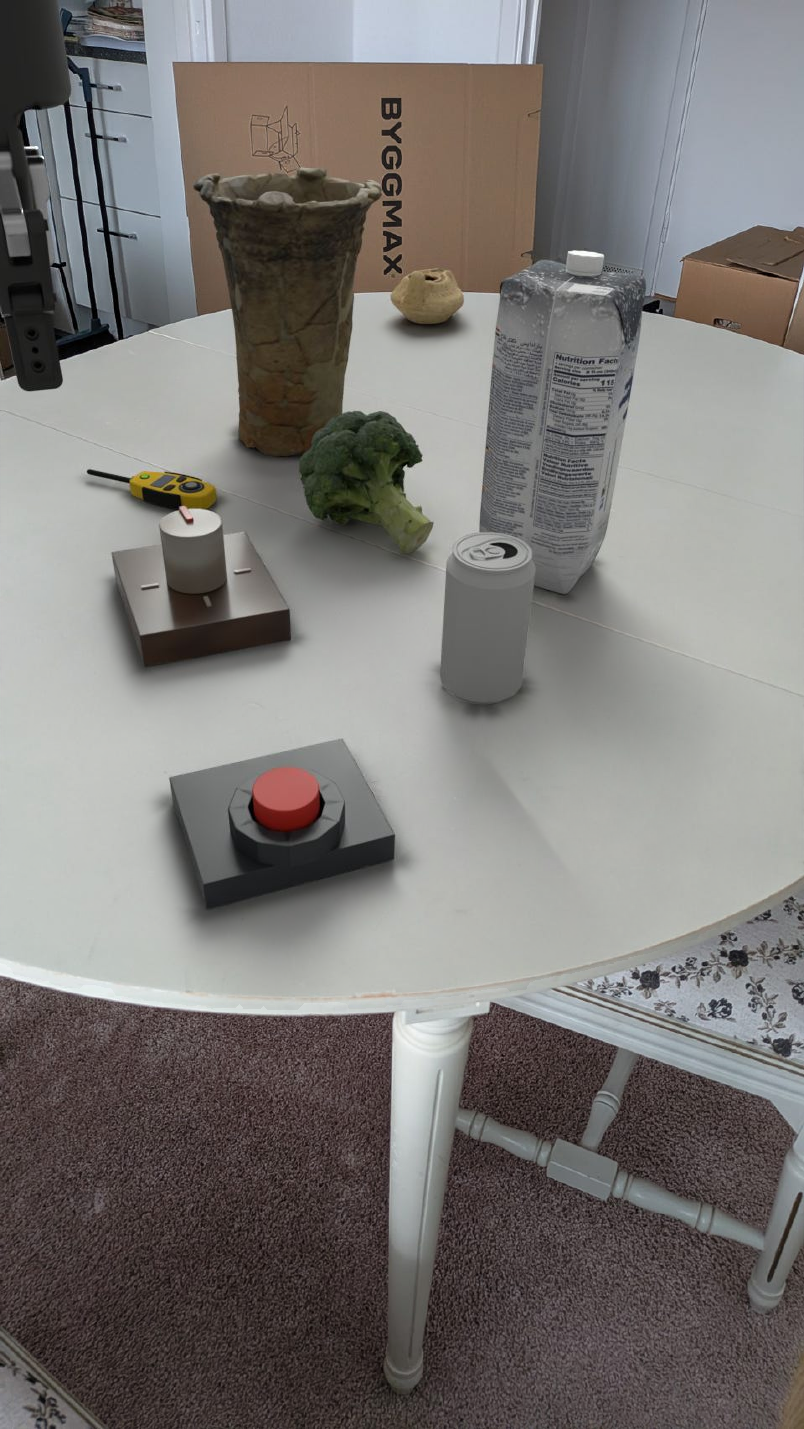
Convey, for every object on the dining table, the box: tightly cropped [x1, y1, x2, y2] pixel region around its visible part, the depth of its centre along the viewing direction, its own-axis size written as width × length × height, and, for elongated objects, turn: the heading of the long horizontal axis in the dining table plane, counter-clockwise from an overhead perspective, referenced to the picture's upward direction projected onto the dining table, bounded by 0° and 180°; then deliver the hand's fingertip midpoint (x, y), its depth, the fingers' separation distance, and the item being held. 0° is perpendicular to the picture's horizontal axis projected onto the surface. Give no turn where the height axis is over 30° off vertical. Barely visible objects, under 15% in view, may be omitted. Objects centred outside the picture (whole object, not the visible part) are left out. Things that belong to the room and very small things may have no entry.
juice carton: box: [478, 250, 647, 595], centre depth 84 cm, size 9×10×27 cm
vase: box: [193, 166, 383, 458], centre depth 107 cm, size 18×18×27 cm
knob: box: [158, 506, 227, 594], centre depth 82 cm, size 5×5×6 cm
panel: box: [111, 531, 292, 668], centre depth 84 cm, size 12×14×3 cm
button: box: [252, 767, 320, 832], centre depth 60 cm, size 4×4×2 cm
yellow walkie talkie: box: [86, 468, 218, 510], centre depth 102 cm, size 5×2×15 cm
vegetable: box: [298, 410, 435, 556], centre depth 95 cm, size 12×13×15 cm
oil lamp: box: [390, 267, 465, 325], centre depth 150 cm, size 11×15×8 cm
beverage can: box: [439, 531, 536, 706], centre depth 74 cm, size 6×6×12 cm
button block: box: [168, 738, 396, 910], centre depth 63 cm, size 12×10×4 cm
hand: (40, 385), depth 52 cm, fingers closed
